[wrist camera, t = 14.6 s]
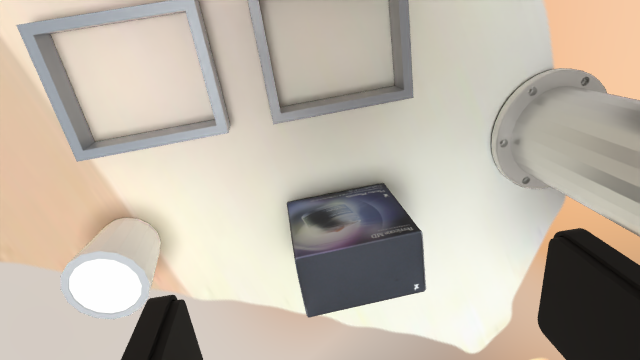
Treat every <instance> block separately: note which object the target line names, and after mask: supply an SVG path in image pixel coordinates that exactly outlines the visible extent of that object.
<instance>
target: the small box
mask: <svg viewBox="0 0 640 360" xmlns="http://www.w3.org/2000/svg"><path fill="white" fill-rule="evenodd" d="M287 208H288V215H289V222H290V230H291V238H292V244H293V251H294V258H295V264H296V269H297V274H298V279H299V284H300V288H301V292H302V297H303V301H304V305H305V309H306V314H307V316H308V317H313V316H317V315H322V314H326V313H330V312H335V311H339V310H344V309H348V308H353V307H357V306H361V305H366V304H370V303H375V302H379V301H384V300H388V299H392V298H397V297H401V296H406V295H410V294H414V293H419V292H424V291H425V290H426V284H425V267H424V250H423V235H422V231H421V230H420V229H419V228H418V227H417V226H416V224H415V223H414V222H413V220H412V219H411V218H410V216H409V215H408V214H407V213H406V211H405V210H404V209H403V208H402V206H401V205H400V204H399V202H398V201H397V200H396V198H395V197H394V196H393V195H392V193H391V192H390V191H389V189H388V188H387V187H386V185H385V184H384V183H382V184H377V185H372V186H367V187H362V188H357V189H352V190H347V191H342V192H337V193H332V194H327V195H321V196H317V197H312V198H306V199H301V200H296V201H291V202H287Z"/></svg>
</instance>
